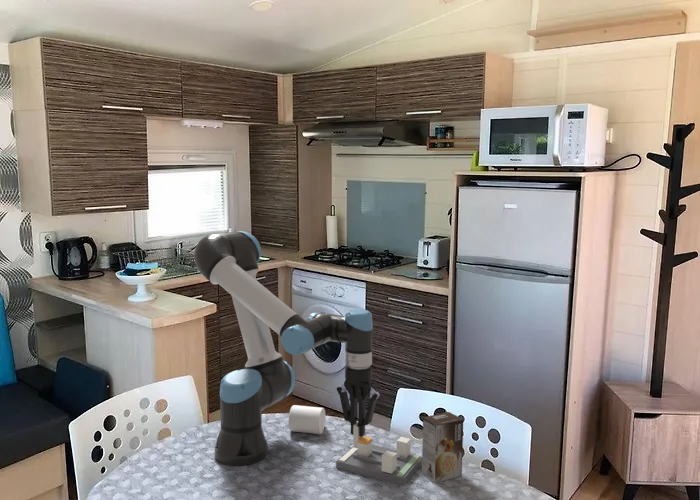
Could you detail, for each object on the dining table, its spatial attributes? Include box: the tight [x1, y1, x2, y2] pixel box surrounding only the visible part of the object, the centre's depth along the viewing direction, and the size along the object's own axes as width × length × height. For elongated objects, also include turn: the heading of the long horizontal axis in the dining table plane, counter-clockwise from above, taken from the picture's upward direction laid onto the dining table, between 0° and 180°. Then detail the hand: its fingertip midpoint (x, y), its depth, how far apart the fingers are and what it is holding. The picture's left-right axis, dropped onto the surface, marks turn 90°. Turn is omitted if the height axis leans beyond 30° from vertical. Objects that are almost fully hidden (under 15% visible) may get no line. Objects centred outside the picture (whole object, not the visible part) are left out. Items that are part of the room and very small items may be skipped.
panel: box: [335, 444, 422, 487], centre depth 163 cm, size 20×14×3 cm
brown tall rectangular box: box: [421, 411, 464, 484], centre depth 158 cm, size 9×6×16 cm
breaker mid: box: [357, 435, 373, 457], centre depth 165 cm, size 3×3×4 cm
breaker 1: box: [382, 451, 397, 474], centre depth 156 cm, size 3×3×4 cm
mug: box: [287, 404, 326, 435], centre depth 186 cm, size 12×10×8 cm
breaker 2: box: [396, 436, 412, 458], centre depth 165 cm, size 3×3×4 cm
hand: (357, 446), depth 166 cm, fingers closed
